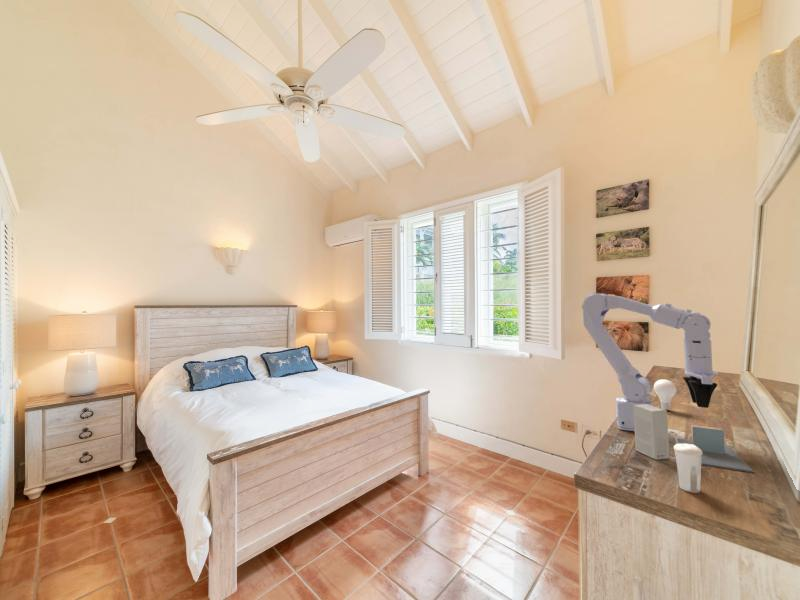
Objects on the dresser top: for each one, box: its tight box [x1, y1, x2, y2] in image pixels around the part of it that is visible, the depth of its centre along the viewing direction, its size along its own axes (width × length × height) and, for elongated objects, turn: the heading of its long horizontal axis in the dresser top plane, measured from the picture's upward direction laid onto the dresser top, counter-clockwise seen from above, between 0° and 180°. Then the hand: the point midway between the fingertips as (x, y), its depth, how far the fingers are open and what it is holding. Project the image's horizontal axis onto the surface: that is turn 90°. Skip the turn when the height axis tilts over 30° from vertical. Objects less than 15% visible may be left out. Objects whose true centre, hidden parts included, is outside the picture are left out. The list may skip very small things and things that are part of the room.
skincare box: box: [633, 404, 670, 460], centre depth 85 cm, size 6×4×12 cm
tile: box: [690, 424, 725, 454], centre depth 85 cm, size 6×2×6 cm, turn 61°
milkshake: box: [673, 434, 702, 494], centre depth 69 cm, size 5×5×10 cm
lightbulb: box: [653, 378, 677, 411], centre depth 120 cm, size 6×6×11 cm
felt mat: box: [673, 437, 755, 474], centre depth 84 cm, size 11×16×1 cm
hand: (700, 404), depth 93 cm, fingers open, 4 cm apart
